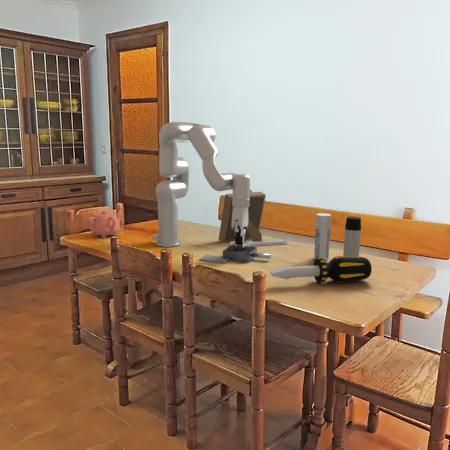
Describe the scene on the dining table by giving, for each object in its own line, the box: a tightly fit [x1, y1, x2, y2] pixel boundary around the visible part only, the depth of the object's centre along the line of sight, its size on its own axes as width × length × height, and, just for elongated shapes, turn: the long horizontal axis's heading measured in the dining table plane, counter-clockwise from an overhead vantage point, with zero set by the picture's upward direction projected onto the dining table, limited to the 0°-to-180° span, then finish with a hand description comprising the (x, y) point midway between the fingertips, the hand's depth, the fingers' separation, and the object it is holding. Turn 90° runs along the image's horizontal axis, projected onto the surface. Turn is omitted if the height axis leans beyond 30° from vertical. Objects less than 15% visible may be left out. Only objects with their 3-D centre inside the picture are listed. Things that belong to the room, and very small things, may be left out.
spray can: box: [342, 216, 362, 257], centre depth 201 cm, size 7×7×20 cm
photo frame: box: [218, 191, 266, 244], centre depth 237 cm, size 15×22×25 cm
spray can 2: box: [313, 212, 332, 261], centre depth 208 cm, size 6×6×20 cm
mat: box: [198, 254, 230, 264], centre depth 206 cm, size 12×8×1 cm, turn 69°
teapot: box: [87, 209, 124, 239], centre depth 249 cm, size 16×17×14 cm
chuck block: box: [222, 245, 272, 263], centre depth 208 cm, size 20×12×4 cm, turn 69°
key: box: [237, 226, 248, 251], centre depth 208 cm, size 6×3×12 cm, turn 69°
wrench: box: [229, 239, 288, 247], centre depth 232 cm, size 8×2×30 cm
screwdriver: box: [269, 255, 373, 285], centre depth 174 cm, size 39×10×10 cm, turn 103°
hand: (240, 243), depth 208 cm, fingers closed on key, 3 cm apart
